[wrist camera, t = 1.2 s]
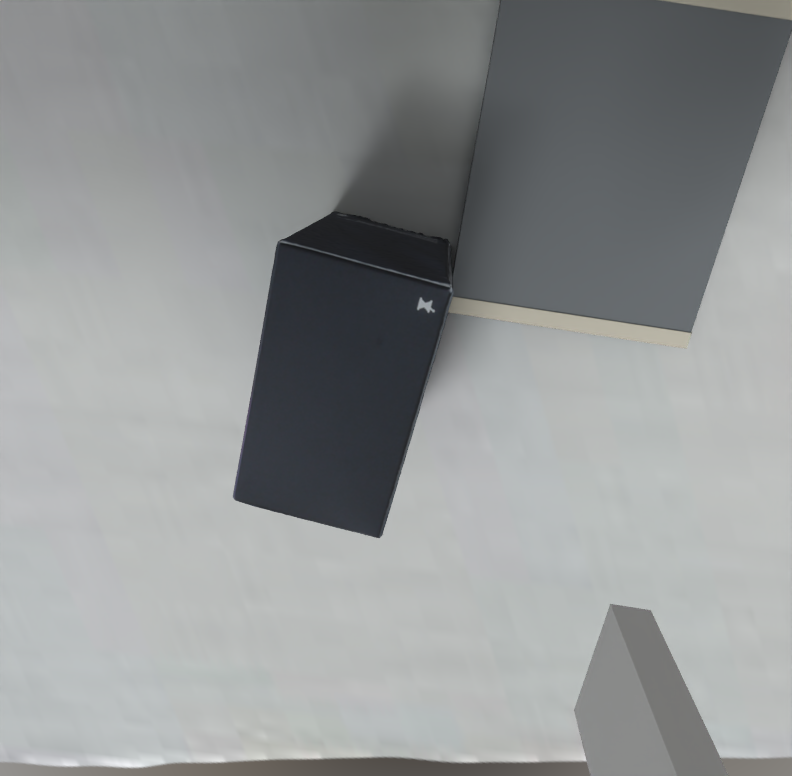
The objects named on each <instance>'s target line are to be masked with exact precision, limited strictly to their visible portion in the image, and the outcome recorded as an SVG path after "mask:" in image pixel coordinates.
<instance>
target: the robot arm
mask: <svg viewBox="0 0 792 776" xmlns="http://www.w3.org/2000/svg"><path fill="white" fill-rule="evenodd" d="M574 712H575V716H576V720H577V724H578V728H579V732H580V736H581V740H582V744H583V748H584V752H585V756H586V760H587V764H588V768H589V772H590V776H729V775H728V773H727V771H726V769H725V767H724V765H723V762H722V761H721V758H720V756H719V754H718V752H717V750H716V748H715V745H714V743H713V741H712V739H711V737H710V735H709V733H708V731H707V728H706V726H705V724H704V722H703V720H702V718H701V716H700V714H699V712H698V709H697V707H696V705H695V703H694V701H693V699H692V697H691V695H690V693H689V690H688V688H687V686H686V684H685V682H684V680H683V678H682V676H681V673H680V671H679V669H678V667H677V665H676V663H675V661H674V659H673V657H672V654H671V652H670V650H669V648H668V646H667V644H666V642H665V640H664V637H663V635H662V633H661V631H660V629H659V627H658V625H657V623H656V621H655V618H654V616H653V614H652V612H651V610H645V609H639V608H633V607H626V606H620V605H613V604H610V607H609V609H608V612H607V615H606V618H605V621H604V624H603V627H602V630H601V633H600V636H599V639H598V642H597V645H596V648H595V650H594V653H593V656H592V659H591V662H590V665H589V668H588V671H587V674H586V677H585V680H584V683H583V686H582V688H581V691H580V694H579V697H578V700H577V703H576V706H575V709H574Z"/></svg>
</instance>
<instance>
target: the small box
mask: <svg viewBox="0 0 792 776" xmlns="http://www.w3.org/2000/svg"><path fill="white" fill-rule="evenodd" d="M450 256H451V245H450V243H449V242H448V240H447V239H444V240H443V239H442V238H440V237H429V236H425V235H423V234H422V233H415V232H413V231H405V230H403V229H399V228H396V227H391V226H388V225H387V224H381V223H377V222H373V221H371V220H370V219H368V218H363V217H361V216H355V215H349V214H342V213H339V212H332V213H331V214H329V215H328V216H326V217H324V218H322V219H321V220H319V221H317V222H315V223H313V224H311V225H310V226H308V227H306V228H304V229H302V230H300V231H298V232H296V233H294V234H293V235H291V236H289V237H287V238H286V239H282V240H280V241H278V244H277V247H276V252H275V259H274V265H273V270H272V276H271V282H270V288H269V294H268V300H267V305H266V311H265V317H264V323H263V329H262V335H261V340H260V346H259V352H258V358H257V364H256V370H255V375H254V381H253V387H252V392H251V398H250V404H249V409H248V415H247V421H246V426H245V432H244V438H243V443H242V449H241V454H240V460H239V465H238V471H237V476H236V482H235V487H234V493H233V498H234V499H235V500H236V501H239V502H242V503H245V504H249V505H252V506H255V507H259V508H263V509H267V510H270V511H274V512H278V513H282V514H285V515H290V516H294V517H297V518H301V519H305V520H309V521H314V522H317V523H321V524H325V525H329V526H333V527H336V528H340V529H344V530H348V531H352V532H357V533H360V534H364V535H368V536H372V537H376V538H380V537H381V536H382V534H383V530H384V527H385V524H386V521H387V517H388V514H389V511H390V507H391V504H392V501H393V498H394V494H395V491H396V487H397V484H398V480H399V477H400V474H401V470H402V467H403V464H404V461H405V457H406V453H407V450H408V447H409V444H410V440H411V437H412V434H413V430H414V427H415V423H416V420H417V417H418V414H419V410H420V406H421V403H422V399H423V396H424V391H425V388H426V385H427V382H428V379H429V376H430V372H431V369H432V365H433V362H434V359H435V356H436V352H437V349H438V345H439V342H440V339H441V334H442V331H443V328H444V325H445V320H446V317H447V314H448V311H449V307H450V304H451V301H452V297H453V293H454V290H453V278H452V277H453V276H452V267H451V258H450Z"/></svg>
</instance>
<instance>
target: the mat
mask: <svg viewBox="0 0 792 776" xmlns="http://www.w3.org/2000/svg"><path fill="white" fill-rule="evenodd" d="M791 31H792V0H501V1H500V7H499V13H498V18H497V24H496V30H495V35H494V41H493V47H492V52H491V58H490V64H489V69H488V75H487V81H486V87H485V92H484V98H483V104H482V109H481V115H480V121H479V126H478V132H477V138H476V143H475V149H474V155H473V160H472V166H471V172H470V177H469V183H468V189H467V195H466V200H465V206H464V212H463V217H462V223H461V229H460V234H459V240H458V246H457V251H456V257H455V263H454V268H453V274H452V276H453V277H452V278H453V290H454V293H453V297H452V301H451V304H450V307H449V311H448V312H449V313H455V314H462V315H468V316H475V317H481V318H488V319H495V320H501V321H508V322H514V323H521V324H527V325H534V326H541V327H547V328H554V329H560V330H567V331H573V332H580V333H587V334H593V335H600V336H606V337H613V338H619V339H626V340H633V341H639V342H646V343H652V344H659V345H665V346H672V347H679V348H685V349H687V346H688V343H689V340H690V337H691V334H692V333H691V331H692V328H693V325H694V322H695V319H696V316H697V313H698V310H699V307H700V304H701V301H702V298H703V295H704V292H705V289H706V286H707V283H708V280H709V277H710V274H711V271H712V268H713V265H714V262H715V259H716V256H717V253H718V250H719V247H720V244H721V241H722V238H723V235H724V232H725V229H726V226H727V223H728V220H729V217H730V214H731V211H732V208H733V205H734V202H735V199H736V196H737V193H738V190H739V187H740V184H741V181H742V178H743V175H744V172H745V169H746V166H747V163H748V160H749V157H750V154H751V151H752V148H753V145H754V142H755V139H756V136H757V133H758V130H759V127H760V124H761V121H762V118H763V115H764V112H765V109H766V106H767V103H768V100H769V97H770V94H771V91H772V88H773V85H774V82H775V79H776V76H777V73H778V70H779V67H780V64H781V61H782V58H783V55H784V52H785V49H786V46H787V43H788V40H789V37H790V34H791Z"/></svg>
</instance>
